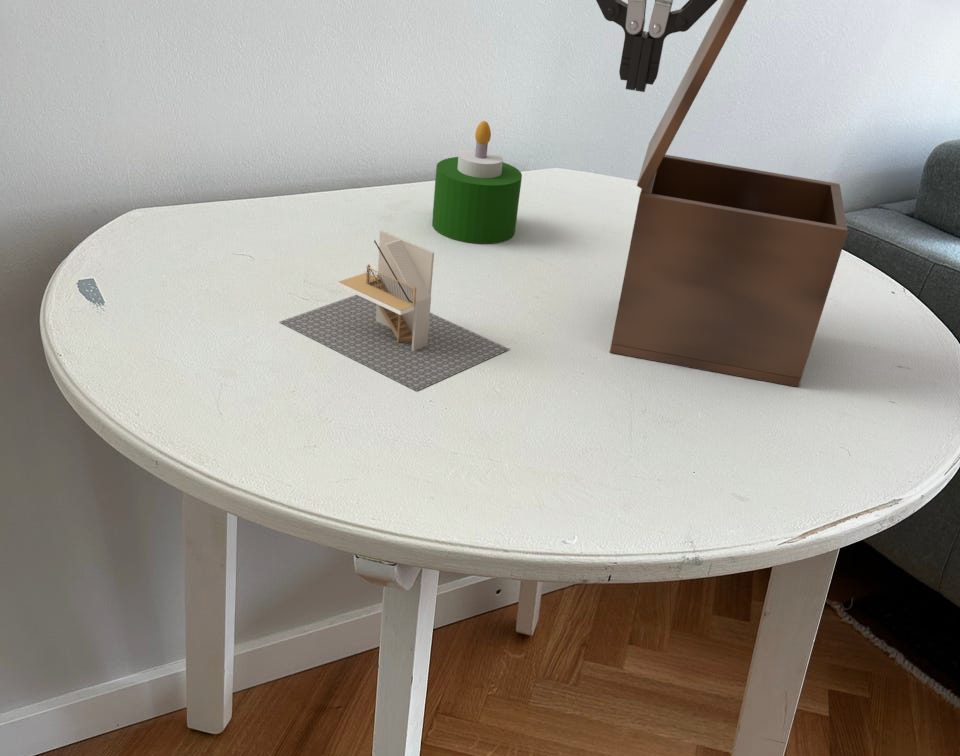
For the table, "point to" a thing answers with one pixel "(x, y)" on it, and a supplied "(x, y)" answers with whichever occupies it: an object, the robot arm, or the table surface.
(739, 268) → the toy box
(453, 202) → the candle
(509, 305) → the table surface
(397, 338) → the architectural model
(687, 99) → the lid
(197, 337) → the table surface
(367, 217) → the table surface
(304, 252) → the table surface
